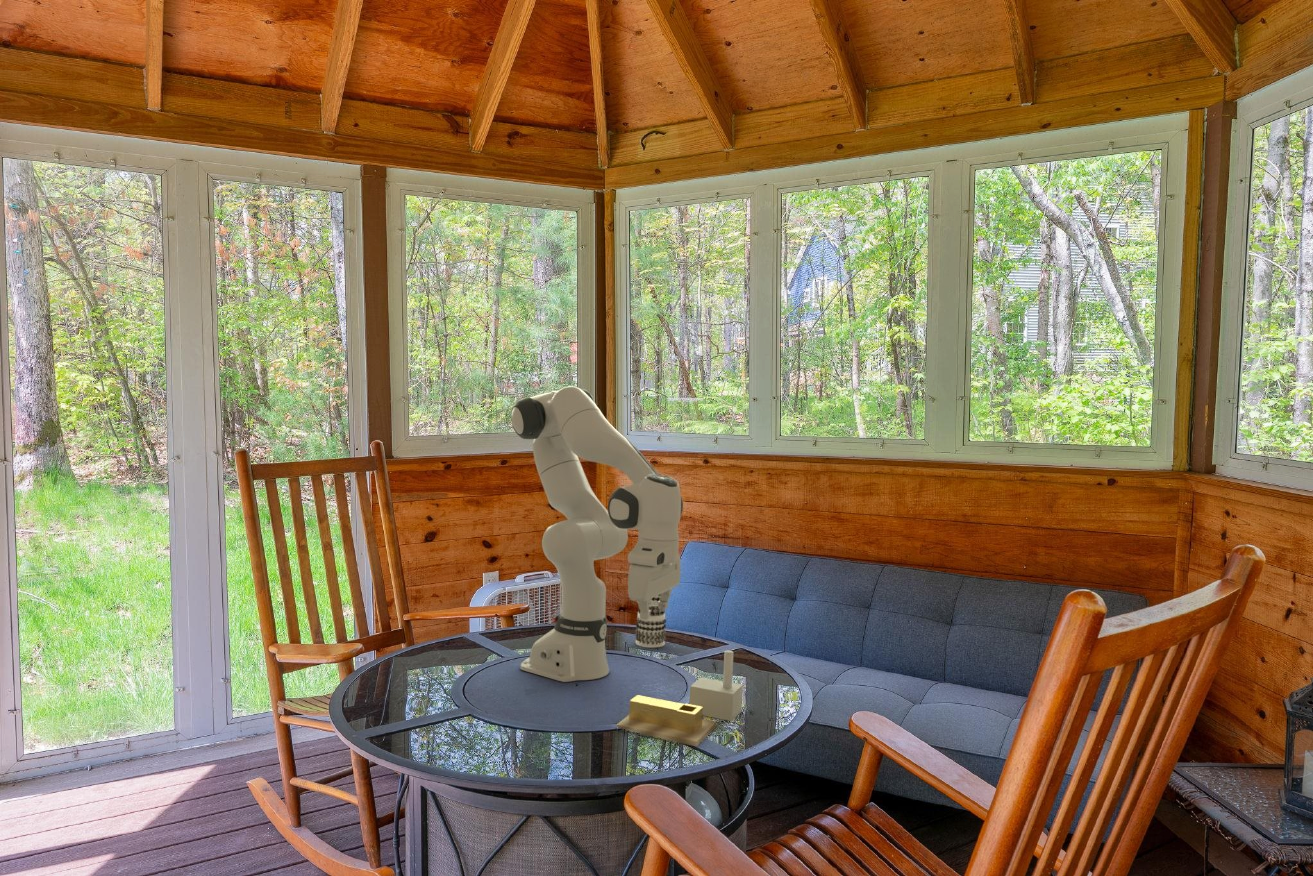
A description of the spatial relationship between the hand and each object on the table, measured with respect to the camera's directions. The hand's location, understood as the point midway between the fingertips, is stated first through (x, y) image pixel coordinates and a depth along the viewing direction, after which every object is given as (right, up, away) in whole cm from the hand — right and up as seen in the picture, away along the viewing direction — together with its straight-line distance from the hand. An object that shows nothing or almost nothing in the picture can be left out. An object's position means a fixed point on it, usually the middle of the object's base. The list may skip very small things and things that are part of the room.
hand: (654, 613), depth 184 cm
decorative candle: (-1, -21, +58) cm, 61 cm away
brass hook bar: (+2, -22, -4) cm, 23 cm away
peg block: (+14, -23, +7) cm, 28 cm away
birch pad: (+3, -23, -4) cm, 24 cm away
